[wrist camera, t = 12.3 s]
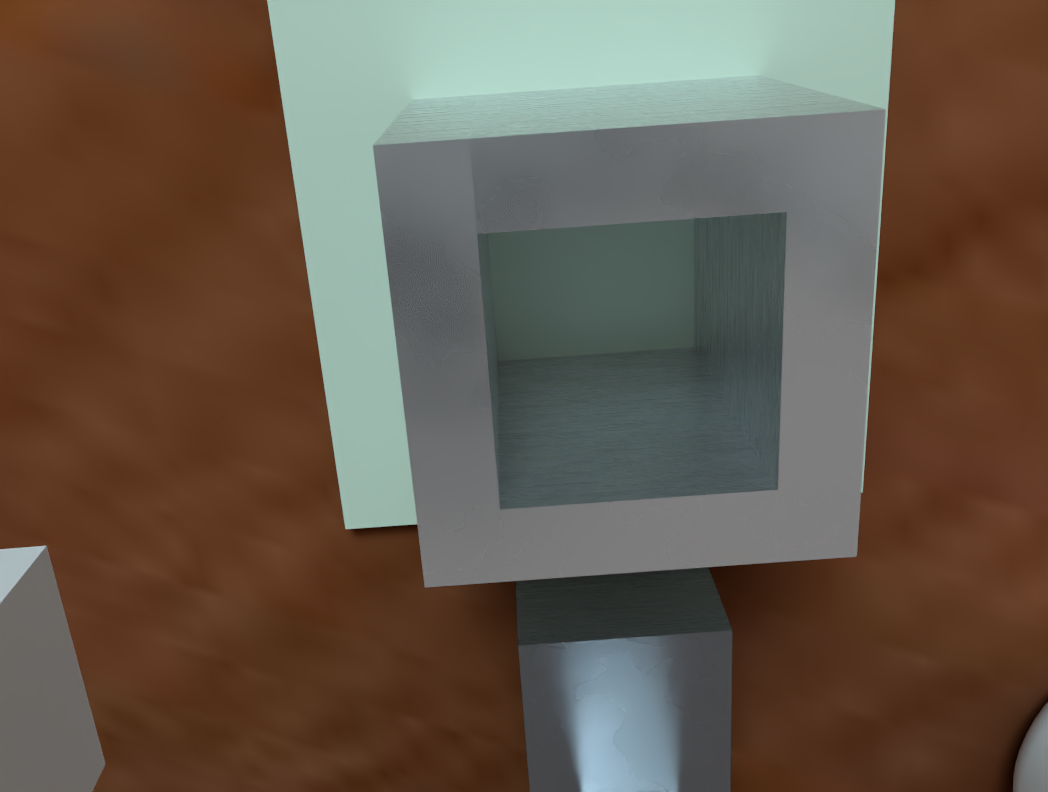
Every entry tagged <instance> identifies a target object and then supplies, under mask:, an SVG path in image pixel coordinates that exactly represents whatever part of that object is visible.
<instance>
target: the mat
mask: <svg viewBox="0 0 1048 792" xmlns="http://www.w3.org/2000/svg"><path fill="white" fill-rule="evenodd" d="M267 2H268V9H269V15H270V22H271V29H272V36H273V42H274V49H275V56H276V63H277V69H278V76H279V83H280V90H281V96H282V103H283V110H284V117H285V123H286V130H287V137H288V144H289V150H290V157H291V164H292V171H293V177H294V184H295V191H296V198H297V205H298V211H299V218H300V225H301V232H302V238H303V245H304V252H305V259H306V265H307V272H308V279H309V286H310V292H311V299H312V306H313V313H314V319H315V326H316V333H317V340H318V346H319V353H320V360H321V367H322V373H323V380H324V387H325V394H326V401H327V407H328V414H329V421H330V428H331V434H332V441H333V448H334V455H335V461H336V468H337V475H338V482H339V488H340V495H341V502H342V509H343V515H344V522H345V529H357V528H371V527H385V526H399V525H413V524H417V517H416V508H415V500H414V491H413V483H412V474H411V466H410V457H409V449H408V440H407V432H406V423H405V415H404V406H403V398H402V389H401V381H400V372H399V364H398V356H397V347H396V339H395V330H394V322H393V313H392V305H391V296H390V288H389V279H388V271H387V262H386V254H385V245H384V237H383V228H382V220H381V211H380V203H379V194H378V186H377V177H376V169H375V160H374V152H373V144H374V143H375V142H376V141H377V140H378V139H379V137H380V136H381V135H382V134H383V133H384V132H385V130H386V129H387V128H388V127H389V126H390V125H391V123H392V122H393V121H394V120H395V119H396V117H397V116H398V115H399V114H400V113H401V112H402V110H403V109H404V108H405V107H406V106H407V105H408V103H409V102H410V101H411V100H413V99H427V98H441V97H456V96H470V95H484V94H498V93H513V92H527V91H541V90H555V89H570V88H584V87H598V86H612V85H627V84H641V83H655V82H669V81H683V80H698V79H712V78H726V77H740V76H755V75H760V76H764V77H767V78H771V79H775V80H779V81H782V82H786V83H790V84H793V85H797V86H801V87H805V88H808V89H812V90H816V91H820V92H823V93H827V94H831V95H834V96H838V97H842V98H846V99H849V100H853V101H857V102H861V103H864V104H868V105H872V106H875V107H879V108H883V109H886V114H885V129H884V145H883V160H882V176H881V191H880V206H879V222H878V237H877V252H876V268H875V283H874V298H873V314H872V329H871V345H870V360H869V375H868V391H867V406H866V421H865V437H864V452H863V468H862V483H861V492H863V479H864V464H865V449H866V434H867V418H868V403H869V388H870V373H871V358H872V342H873V327H874V312H875V297H876V282H877V266H878V251H879V236H880V221H881V206H882V190H883V175H884V160H885V145H886V130H887V114H888V99H889V84H890V69H891V54H892V38H893V23H894V8H895V0H267ZM488 242H489V254H490V267H491V279H492V292H493V305H494V317H495V330H496V343H497V355H498V361H508V360H522V359H536V358H550V357H564V356H578V355H593V354H607V353H621V352H635V351H649V350H663V349H677V348H691V347H695V320H694V219H681V220H667V221H653V222H639V223H625V224H610V225H596V226H582V227H568V228H554V229H540V230H526V231H511V232H497V233H488Z"/></svg>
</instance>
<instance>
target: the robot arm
mask: <svg viewBox="0 0 1048 792" xmlns="http://www.w3.org/2000/svg"><path fill="white" fill-rule="evenodd" d="M104 766H105V761H104V757H103V753H102V750H101V746H100V742H99V739H98V735H97V731H96V727H95V724H94V720H93V716H92V713H91V709H90V705H89V702H88V698H87V694H86V690H85V687H84V683H83V679H82V676H81V672H80V668H79V665H78V661H77V657H76V653H75V650H74V646H73V642H72V639H71V635H70V631H69V627H68V624H67V620H66V616H65V613H64V609H63V605H62V602H61V598H60V594H59V590H58V587H57V583H56V579H55V576H54V572H53V568H52V564H51V561H50V557H49V553H48V550H47V546H38V547H25V548H13V549H0V792H92V791H93V789H94V786H95V784H96V782H97V780H98V778H99V776H100V774H101V772H102V770H103V768H104Z"/></svg>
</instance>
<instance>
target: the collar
mask: <svg viewBox="0 0 1048 792" xmlns="http://www.w3.org/2000/svg"><path fill="white" fill-rule="evenodd" d="M885 114H886V109H883V108H879V107H875V106H872V105H868V104H864V103H861V102H857V101H853V100H849V99H846V98H842V97H838V96H834V95H831V94H827V93H823V92H820V91H816V90H812V89H808V88H805V87H801V86H797V85H793V84H790V83H786V82H782V81H779V80H775V79H771V78H767V77H764V76H760V75H755V76H740V77H726V78H712V79H698V80H683V81H669V82H655V83H641V84H627V85H612V86H598V87H584V88H570V89H555V90H541V91H527V92H513V93H498V94H484V95H470V96H456V97H441V98H427V99H413V100H411V101H410V102H409V103H408V105H407V106H406V107H405V108H404V109H403V110H402V112H401V113H400V114H399V115H398V116H397V117H396V119H395V120H394V121H393V122H392V123H391V125H390V126H389V127H388V128H387V129H386V130H385V132H384V133H383V134H382V135H381V136H380V137H379V139H378V140H377V141H376V142H375V143H374V144H373V152H374V160H375V169H376V177H377V186H378V194H379V203H380V211H381V220H382V228H383V237H384V245H385V254H386V262H387V271H388V279H389V288H390V296H391V305H392V313H393V322H394V330H395V339H396V347H397V356H398V364H399V372H400V381H401V389H402V398H403V406H404V415H405V423H406V432H407V440H408V449H409V457H410V466H411V474H412V483H413V491H414V500H415V508H416V517H417V525H418V534H419V542H420V551H421V559H422V568H423V576H424V585H425V587H438V586H452V585H466V584H480V583H494V582H508V581H522V580H536V579H550V578H564V577H577V576H591V575H605V574H619V573H633V572H647V571H661V570H675V569H689V568H703V567H717V566H731V565H745V564H759V563H773V562H787V561H801V560H815V559H829V558H843V557H857V544H858V529H859V514H860V498H861V483H862V468H863V452H864V437H865V421H866V406H867V391H868V375H869V360H870V345H871V329H872V314H873V298H874V283H875V268H876V252H877V237H878V222H879V206H880V191H881V176H882V160H883V145H884V129H885ZM681 219H694V320H695V347H691V348H677V349H663V350H649V351H635V352H621V353H607V354H593V355H578V356H564V357H550V358H536V359H522V360H508V361H498V355H497V343H496V330H495V317H494V305H493V292H492V279H491V267H490V254H489V242H488V233H497V232H511V231H526V230H540V229H554V228H568V227H582V226H596V225H610V224H625V223H639V222H653V221H667V220H681Z"/></svg>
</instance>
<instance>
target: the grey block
mask: <svg viewBox="0 0 1048 792" xmlns="http://www.w3.org/2000/svg"><path fill="white" fill-rule="evenodd" d="M516 602H517V628H518V650H519V662H520V675H521V687H522V700H523V712H524V725H525V737H526V750H527V762H528V775H529V787H530V792H730V774H731V698H732V628H731V625H730V623H729V620H728V618H727V615H726V612H725V610H724V607H723V604H722V602H721V599H720V597H719V594H718V591H717V589H716V586H715V583H714V581H713V578H712V576H711V573H710V570H709V568H708V567H703V568H689V569H675V570H661V571H647V572H633V573H619V574H605V575H591V576H577V577H564V578H550V579H536V580H522V581H516Z"/></svg>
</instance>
